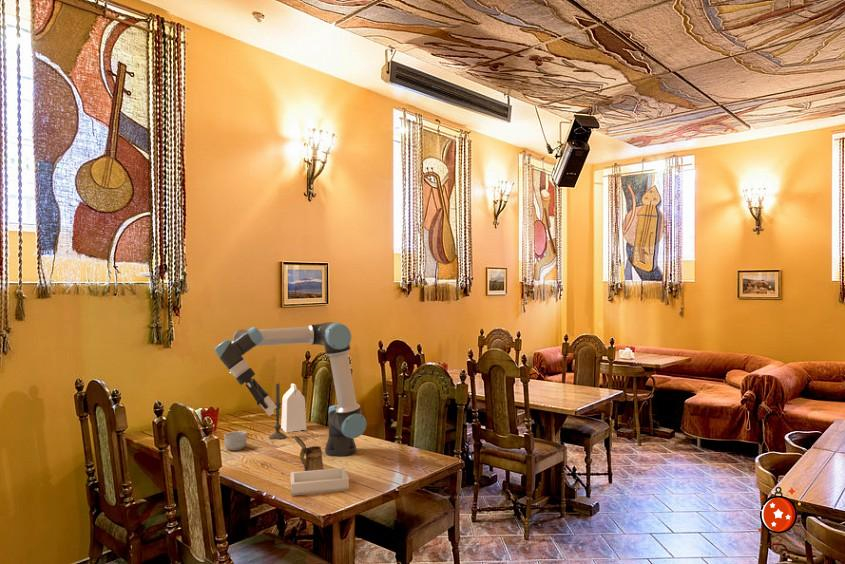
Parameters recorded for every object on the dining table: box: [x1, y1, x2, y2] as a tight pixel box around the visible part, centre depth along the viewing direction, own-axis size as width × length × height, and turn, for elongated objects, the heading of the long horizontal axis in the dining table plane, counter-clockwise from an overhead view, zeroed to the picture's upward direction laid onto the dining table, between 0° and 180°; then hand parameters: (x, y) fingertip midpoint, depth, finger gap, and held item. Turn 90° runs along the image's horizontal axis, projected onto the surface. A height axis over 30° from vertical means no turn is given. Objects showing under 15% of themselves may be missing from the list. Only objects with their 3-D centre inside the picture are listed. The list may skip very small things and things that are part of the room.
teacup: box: [223, 430, 247, 452], centre depth 282 cm, size 14×11×8 cm
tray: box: [289, 467, 350, 497], centre depth 223 cm, size 22×15×4 cm
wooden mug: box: [294, 435, 324, 471], centre depth 238 cm, size 9×14×18 cm, turn 131°
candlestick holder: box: [268, 382, 287, 440], centre depth 303 cm, size 9×9×30 cm
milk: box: [280, 383, 307, 433], centre depth 321 cm, size 12×12×26 cm
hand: (273, 411), depth 238 cm, fingers open, 13 cm apart
